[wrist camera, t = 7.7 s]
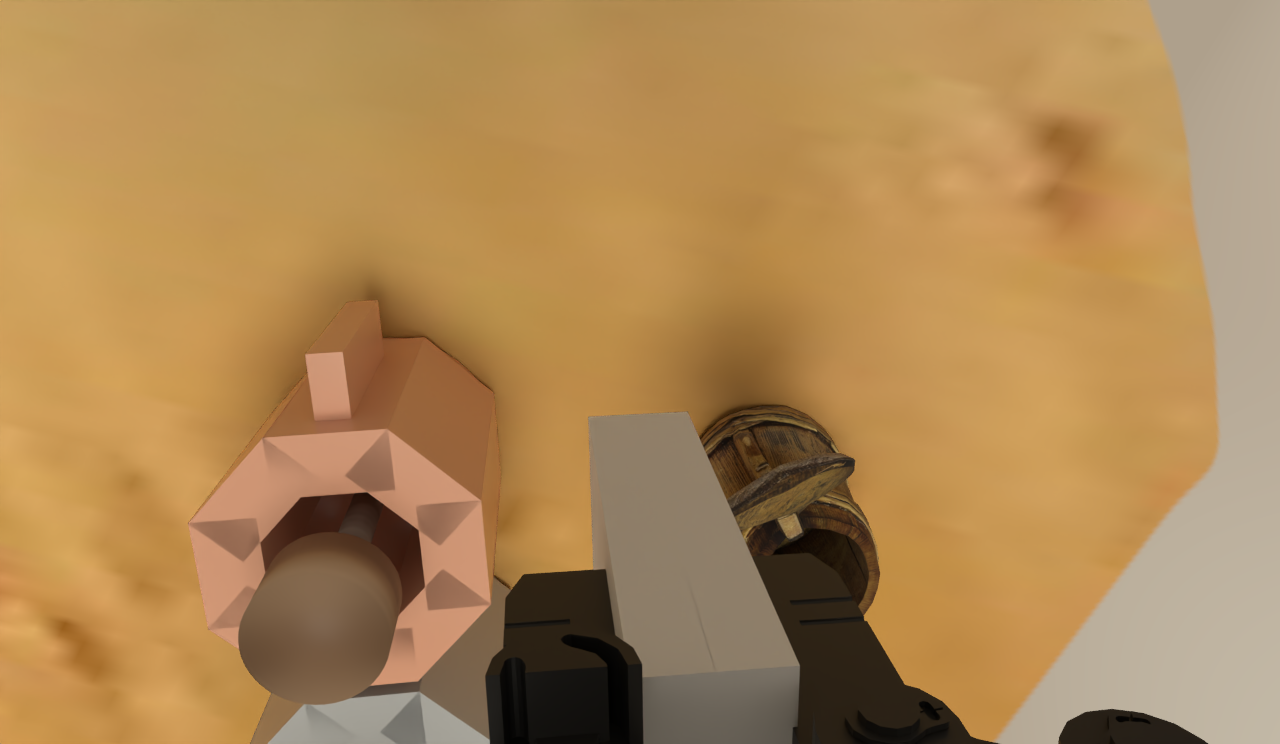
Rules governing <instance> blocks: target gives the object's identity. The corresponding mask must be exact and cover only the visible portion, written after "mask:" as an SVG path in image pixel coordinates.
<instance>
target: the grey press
mask: <svg viewBox="0 0 1280 744" xmlns="http://www.w3.org/2000/svg"><path fill="white" fill-rule="evenodd" d="M510 591H511V590H510V589H508V588H507V587H506V586H504V585H503V584H502V583H500V582H499V581H498V580H497V579H496V578H495V577H494V575H493V587H492V600H491V605H490V606H489V607H488V608H487V609H486V610H485V611H484V612H483V613H482V614H481V615H480V616H479V618H478V619H477V620H476V621H475V622H474V623H473V624H472V625H471V626H470V627H469V628H468V629H467V630H466V631H465V632H464V633H463V634H462V635H461V636H460V638H459V639H458V640H457V641H456V642H455V643H454V644H453V645H452V646H451V647H450V648H449V649H448V650H447V651H446V652H445V653H444V654H443V655H442V656H441V658H440V659H439V660H438V661H437V662H436V663H435V664H434V665H433V666H432V667H431V668H430V669H429V670H428V671H427V672H426V673H425V674H424V675H423V676H422V678H421V679H420V680H419V681H418V682H417V681H416V682H405V683H394V684H384V685H373V686H369V687H368V688H367V689H365V690H364V691H362V692H361V693H359V694H357V695H355V696H354V697H352V698H349V699H347V700H344V701H340V702H337V703H332V704H325V705H309V704H301V703H296V702H292V701H289V700H286V699H283V698H281V697H279V696H277V695H275V694H273V693H271V695H270V698H269V700H268V702H267V705H266V707H265V709H264V712H263V714H262V717H261V719H260V721H259V724H258V726H257V729H256V731H255V733H254V736H253V738H252V740H251V743H250V744H490V737H489V723H488V710H487V696H486V682H485V675H486V672H487V670H488V667H489V665H490V662H491V660H492V658H493V657H494V656H495V655H496V654H497V653H498V652H499V651H501V650H502V649H503V637H504V617H505V598H506V596H507V595H508V594H509V593H510Z"/></svg>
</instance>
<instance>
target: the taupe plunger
mask: <svg viewBox="0 0 1280 744" xmlns="http://www.w3.org/2000/svg"><path fill="white" fill-rule="evenodd" d="M383 506H384V504H383V503H381V502H380V501H379V500H377V499H376V498H374V497H373V496H372V495H370V494H369V493H368V492H363V493H354V496H353V498H352V500H351V503H350V505H349V508H348V510H347V512H346V515H345V517H344V519H343V522H342V524H341V526H340V529H339V531H338V532H323V533H315V534H311V535H308V536H305V537H302V538H300V539H297V540H296V541H294V542H292V543H290V544H289V545H287V546H286V547H285V548H283V549H282V550H281V551H280V552H279V553H278V554H277V555H276V557H275V558H274V559H273V560H272V562H271V564H270V565H269V567H268V569H267V571H266V573H265V575H264V577H263V578H262V580H261V582H260V584H259V586H258V588H257V590H256V592H255V594H254V595H253V597H252V599H251V601H250V603H249V605H248V607H247V609H246V610H245V612H244V614H243V617H242V619H241V622H240V626H239V631H238V644H239V650H240V654H241V657H242V660H243V662H244V664H245V666H246V668H247V669H248V671H249V673H250V674H251V675H252V676H253V678H254V679H255V680H256V681H257V682H258V683H259V684H260V685H261V686H263V687H264V688H265V689H267V690H268V691H270V692H271V693H273V694H275V695H277V696H279V697H281V698H283V699H286V700H289V701H292V702H296V703H301V704H309V705H325V704H332V703H337V702H340V701H344V700H347V699H349V698H352V697H354V696H355V695H357V694H359V693H361V692H362V691H364V690H365V689H367V688H368V687H369V686H370V685H371V684H372V683H373V682H374V681H375V680H376V679H377V678H378V676H379V675H380V674H381V672H382V670H383V669H384V667H385V665H386V662H387V660H388V656H389V653H390V648H391V644H392V640H393V636H394V632H395V628H396V624H397V620H398V616H399V612H400V608H401V604H402V586H401V580H400V577H399V575H398V572H397V570H396V568H395V566H394V565H393V563H392V562H391V560H390V559H389V558H388V557H387V556H386V555H385V554H384V553H383V552H382V551H381V550H380V549H379V548H378V547H376V546H375V545H373V544H372V543H371V542H372V539H373V536H374V533H375V530H376V527H377V524H378V521H379V518H380V515H381V512H382V509H383Z"/></svg>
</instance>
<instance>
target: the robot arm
mask: <svg viewBox="0 0 1280 744" xmlns="http://www.w3.org/2000/svg"><path fill="white" fill-rule="evenodd" d="M588 422H589V452H590V482H591V512H592V542H593V570H583V571H568V572H552V573H537V574H524V575H523V576H522V577H521V579H520V580H519V581H518V582H517V584H516V585H515V586H514V587H513V589H512V590H511V591H510V593H509V594H508V595H507V596H506V598H505V617H504V637H503V649H502V650H501V651H499V652H498V653H497V654H496V655H495V656H494V657H493V658H492V660H491V662H490V665H489V667H488V670H487V672H486V675H485V682H486V696H487V710H488V723H489V737H490V744H998V743H993V742H989V741H984V740H979V739H976V738H973V737H971V736H970V735H969V733H968V732H967V730H966V729H965V727H964V725H963V724H962V722H961V721H960V719H959V718H958V717H957V716H956V715H955V714H954V713H953V712H952V711H951V710H950V709H949V708H948V707H947V706H946V705H945V704H944V703H943V702H942V701H941V700H939V699H937V698H935V697H933V696H931V695H930V694H928V693H926V692H924V691H922V690H920V689H918V688H914V687H911V686H907V685H905V684H904V683H903V681H902V679H901V678H900V676H899V674H898V673H897V671H896V669H895V668H894V666H893V664H892V663H891V661H890V659H889V658H888V656H887V654H886V652H885V651H884V649H883V647H882V646H881V644H880V642H879V641H878V639H877V637H876V636H875V634H874V632H873V631H872V629H871V627H870V626H869V624H868V622H867V621H864V616H863V614H862V612H861V611H860V609H859V607H858V605H857V604H856V602H855V601H852V595H851V594H850V592H849V590H848V589H847V587H846V585H845V584H844V582H843V580H842V579H841V577H840V575H839V574H838V572H837V571H835V570H834V569H832V568H831V567H829V566H828V565H826V564H825V563H823V562H822V561H820V560H819V559H817V558H816V557H815V556H813V555H812V554H810V553H798V554H783V555H767V556H751V554H750V552H749V549H748V547H747V545H746V543H745V540H744V538H743V536H742V533H741V531H740V529H739V527H738V524H737V522H736V520H735V518H734V515H733V513H732V511H731V509H730V506H729V504H728V502H727V500H726V497H725V495H724V493H723V490H722V488H721V486H720V484H719V481H718V479H717V477H716V475H715V472H714V470H713V468H712V466H711V463H710V461H709V459H708V457H707V454H706V452H705V450H704V448H703V445H702V443H701V441H700V438H699V436H698V434H697V432H696V429H695V427H694V425H693V423H692V420H691V418H690V416H689V414H688V412H671V413H651V414H631V415H612V416H592V417H588ZM1059 744H1208V743H1206V742H1205V741H1204V740H1202V739H1201V738H1199V737H1197V736H1195V735H1194V734H1192V733H1190V732H1188V731H1186V730H1185V729H1183V728H1181V727H1179V726H1178V725H1176V724H1174V723H1171V722H1168V721H1165V720H1162V719H1159V718H1156V717H1153V716H1150V715H1147V714H1144V713H1138V712H1133V711H1123V710H1115V709H1108V710H1099V711H1090V712H1085V713H1083V714H1081V715H1079V716H1077V717H1075V718H1073V719H1072V720H1070V721H1068V722H1067V723H1066V725H1065V727H1064V729H1063V731H1062V733H1061V735H1060V737H1059Z"/></svg>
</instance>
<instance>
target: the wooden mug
mask: <svg viewBox="0 0 1280 744" xmlns="http://www.w3.org/2000/svg"><path fill="white" fill-rule="evenodd" d="M700 441H701V443H702V445H703V448H704V450H705V452H706V454H707V457H708V459H709V461H710V463H711V466H712V468H713V470H714V472H715V475H716V477H717V479H718V481H719V484H720V486H721V488H722V490H723V493H724V495H725V497H726V500H727V502H728V504H729V506H730V509H731V511H732V513H733V515H734V518H735V520H736V522H737V524H738V527H739V529H740V531H741V533H742V536H743V538H744V540H745V543H746V545H747V547H748V549H749V552H750V554H751V556H767V555H783V554H798V553H810V554H812V555H813V556H815V557H816V558H817V559H819V560H820V561H822V562H823V563H825V564H826V565H828V566H829V567H831V568H832V569H834V570H835V571H837V572H838V574H839V575H840V577H841V579H842V580H843V582H844V584H845V585H846V587H847V589H848V590H849V592H850V594H851V595H852V601H855V602H856V604H857V605H858V607H859V609H860V611H861V612H862V614H863V615H864V614H865V613H866V611H867V610H868V608H869V607H870V606H871V604H872V602H873V600H874V597H875V594H876V591H877V588H878V583H879V577H880V571H879V565H878V560H879V558H878V552H877V545H876V542H875V539H874V537H873V534H872V531H871V528H870V526H869V523H868V521H867V519H866V517H865V515H864V514H863V512H862V510H861V509H860V507H859V505H858V504H856V503H855V502H854V501H853V498H852V495H851V493H850V490H849V488H848V480H847V478H848V477H849V476H850V475H851V474H852V473H853V471H854V465H855V460H854V459H853V458H851V457H848V456H846V455H844V454H841V453H839V451H838V450H837V448H836V446H835V444H834V442H833V440H832V439H831V437H830V436H829V435H828V433H827V432H826V431H825V429H824V428H823V427H822V426H820V425H819V424H818V423H817V422H815V421H814V420H813V419H812V418H810V417H809V416H808V415H806V414H804V413H801V412H799V411H796V410H794V409H791V408H788V407H786V406H759V407H755V408H750V409H746V410H742V411H739V412H736V413H733V414H730V415H728V416H726V417H724V418H723V419H721V420H719V421H718V422H717V423H716V424H715V425H714V426H713V427H712V428H711V429H710V430H708V431H707V432H706V433H705V434H704V436H703V437H702V438H701V440H700Z"/></svg>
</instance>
